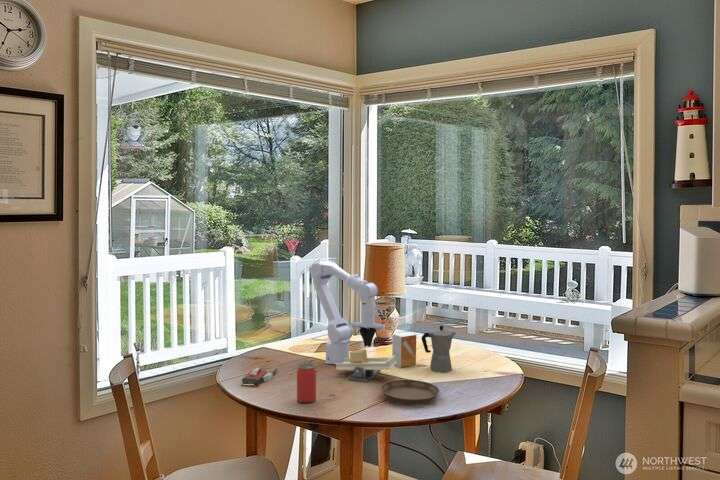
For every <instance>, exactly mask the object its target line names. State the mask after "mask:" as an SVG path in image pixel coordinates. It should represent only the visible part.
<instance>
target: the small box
mask: <svg viewBox="0 0 720 480" xmlns="http://www.w3.org/2000/svg"><path fill="white" fill-rule="evenodd" d="M391 345H392V347H391V348H392V350H391V351H392V353H391V354H392V355H391V357H392V356H393V355H396V361H397V364H396V365H394V367H397V368H400V369H401V368H406V367H411V366H416V365H417V334H415V333H412V332H410V331H405V332H404V331H403V332H398V333H393V334H392V344H391Z"/></svg>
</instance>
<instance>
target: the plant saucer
mask: <svg viewBox="0 0 720 480" xmlns="http://www.w3.org/2000/svg"><path fill="white" fill-rule="evenodd" d="M380 391H381V393H382V394H383V396H385V398H386V399H387V400H389V401H391V402H393V403H396V404H399V405H407V406H419V405H426V404H428V403H430V402H432V401H433V400H435V398H437V396H439V393H440V389H439V387H437V385H434V384H433V383H430V382H426V381H423V380H415V379H396V380H391V381H387V382H385V383H383V384H382V385H381V386H380Z"/></svg>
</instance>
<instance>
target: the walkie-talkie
mask: <svg viewBox="0 0 720 480" xmlns="http://www.w3.org/2000/svg"><path fill="white" fill-rule="evenodd" d="M277 371H278V368H275V369H273V370H272V371H271V372H268V371H267V370H262V368H261V367H255V368H254V369H252V370H251V371H250V372H249V373H248V374H246V375H244V376H243V378H242V379H241V384H242V383H243V384H254V385H258V386H260V385H261V384H262V383H263V382H262V381H266V382H268V381H267V380H269V381H271V380H272V379H273V377H274V374H275V373H276V372H277ZM261 382H262V383H261Z"/></svg>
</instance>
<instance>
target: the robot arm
mask: <svg viewBox="0 0 720 480" xmlns="http://www.w3.org/2000/svg"><path fill="white" fill-rule="evenodd" d="M309 272H310V275H311V278H312V283H313V287H314V290H315V291H316V294H317V296H318V299H319V301H320V304H321V305H322V308H323V311H324V314H325V316H326V319H327V321H328V324H327V327H326V330H327V337H328V339H329V341H327V342H326V345H325V362H324V364H329V365H336V363H343V362H344V358H350V341H351V338H352V337H353V333H354V332H353V331H354V330H353V328H357V329H359V330H358V332H359V334H360V336H361V339H362V341H363V345H364V347H368V348H371V347H372V344H373V340H374V336H375V334H376V332H377V330H380V331H385V330H386V324H381V323H376V296H377V295H378V293H379V289H378V286H377V285H376V284H375V282H368V281H367V280H365V279H363V278H361V277H360V275H359V274H350V273H348V272H347V271H345V270H344V269H343V268H341V267H340V266H339V265H337V263H336V262H334V261H332V260H330V259H329V260H324V261H323V260H322V261H315V262H313V263H312V264H311V266H310V269H309ZM333 276H334V277H336V278H338V279H340V280H341V281H343V282H345V283H346V286H347V288H350V289H351V290H353V291H354V292H356V293H357V295H358V296H359V301H360V321H352V322H350V324H348V321H347V320H346V319H345V318H343V317H341V314H340V312H339V309H338V306H337V305H336V302H335V300H334V297H333V295H332V292H331V290H330V288H329V286H328V283H329V281H330V280H331V278H332V277H333Z"/></svg>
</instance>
